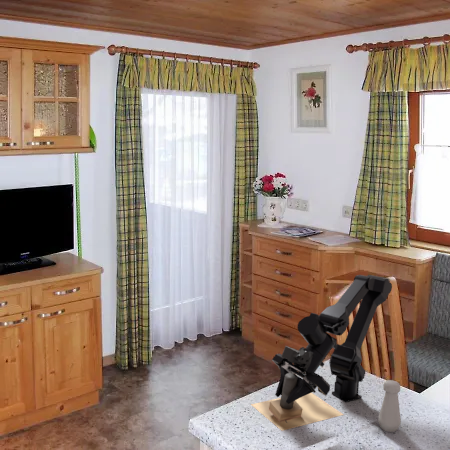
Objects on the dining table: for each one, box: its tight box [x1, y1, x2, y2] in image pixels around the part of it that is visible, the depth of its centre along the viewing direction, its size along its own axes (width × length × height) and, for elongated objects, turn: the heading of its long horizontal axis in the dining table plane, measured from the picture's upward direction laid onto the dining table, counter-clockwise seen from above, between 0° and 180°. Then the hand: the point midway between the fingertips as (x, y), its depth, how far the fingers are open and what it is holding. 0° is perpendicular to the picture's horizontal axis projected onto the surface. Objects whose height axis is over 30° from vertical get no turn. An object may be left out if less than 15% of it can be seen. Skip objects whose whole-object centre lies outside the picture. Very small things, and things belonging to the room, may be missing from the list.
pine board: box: [250, 392, 345, 432], centre depth 161 cm, size 20×16×2 cm
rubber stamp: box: [269, 373, 303, 422], centre depth 156 cm, size 7×6×12 cm
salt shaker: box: [378, 379, 402, 433], centre depth 153 cm, size 6×6×13 cm
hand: (281, 399), depth 154 cm, fingers closed on rubber stamp, 4 cm apart
